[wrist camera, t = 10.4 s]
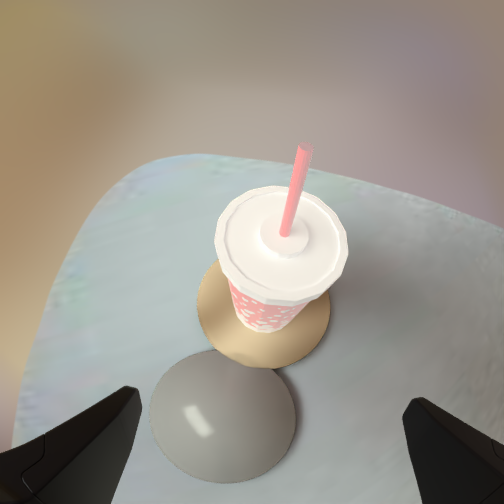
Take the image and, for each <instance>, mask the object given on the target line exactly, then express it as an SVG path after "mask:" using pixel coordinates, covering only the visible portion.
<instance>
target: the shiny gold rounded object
mask: <svg viewBox="0 0 504 504" xmlns="http://www.w3.org/2000/svg"><path fill="white" fill-rule="evenodd" d="M197 310H198V317H199V321H200V324H201V327H202V329H203V331H204V333H205V335H206V337H207V338H208V340H209V341H210V343H211V344H212V345H213V346H214V348H215V349H216V350H218V351H219V352H220V353H222V354H224V356H226V357H228V358H230V359H231V360H233V361H234V360H236V363H237V361H238V363H239V364H241V363H242V365H244V366H248V367H253V368H255V367H257V368H263V369H265V368H271V369H276V368H281V367H285V366H287V365H290V364H292V363H294V362H296V361H298V360H300V359H302V358H303V357H304V356H306V355H307V354H308V353H310V352H311V351H312V350H313V349H314V348H315V347H316V345H317V344H318V343H319V341H320V340H321V338H322V337H323V335H324V333H325V331H326V328H327V325H328V321H329V317H330V298H329V293H328V290H326V291H325V292H324V293H323V294H322V295H320V296H319V297H318V298H317V299H314V300H311V301H310V302H309V303H308V304H307V305H306V306H305V307H304V308H303V309H302V310H301V311H300V312H299V313H298V314H297V315H296V316H295V317H294V318H293V319H292V320H291V321H290V322H289V323H288V324H287V325H286V326H284V327H283V328H282V329H280V330H277V331H274V332H271V333H265V332H256V331H254V330H252V329H250V328H248V327H246V326H245V325H244V324H243V323H242V322H241V320H240V319H239V318H238V317H237V314H236V311H235V307H234V304H233V299H232V295H231V291H230V286H229V282H228V278H227V277H226V276H225V274H224V273H223V272H222V268H221V265H220V262H219V259H218V260H216V261H215V262H214V263H213V264H212V266H211V267H210V268H209V269H208V271H207V272H206V274H205V276H204V278H203V280H202V282H201V284H200V288H199V291H198V298H197ZM250 356H251V357H250ZM235 358H236V359H235ZM252 363H253V364H252Z"/></svg>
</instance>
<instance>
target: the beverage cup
mask: <svg viewBox="0 0 504 504" xmlns="http://www.w3.org/2000/svg"><path fill="white" fill-rule="evenodd" d="M313 149H314V147H313V145H311V144H310V143H308V142H301V143H299V146H298V150H297V155H296V160H295V164H294V169H293V173H292V178H291V182H290V187H282V186H267V187H262V188H257V189H252V190H249V191H248V192H246V193H244V194H242V195H241V196H239V197H237V198H236V199H234V200H232V201H231V202H230V204H229V205H228V206H227V208H226V209H225V210H224V212H223V213H222V214H221V216H220V217H219V218H218V223H217V228H216V234H215V239H214V243H215V247H216V251H217V255H218V258H219V262H220V265H221V268H222V272H223V273H224V274H225V276H226V277H227V278H228V282H229V286H230V291H231V295H232V299H233V304H234V307H235V311H236V314H237V317H238V318H239V319H240V320H241V322H242V323H243V324H244V325H245V326H246V327H248V328H250V329H252V330H254V331H256V332H265V333H271V332H274V331H277V330H280V329H282V328H283V327H284V326H286V325H287V324H288V323H289V322H290V321H291V320H292V319H293V318H294V317H295V316H296V315H297V314H298V313H299V312H300V311H301V310H302V309H303V308H304V307H305V306H306V305H307V304H308V303H309V302H310V301H311V300H314V299H317V298H318V297H319V296H320V295H322V294H323V293H324V292H325V291H326V290H327V289H328V288H329V287H330V286H331V285H332V284H333V283H334V282H335V281H336V280H337V279H338V278H339V277H340V276H341V273H342V271H343V268H344V265H345V262H346V259H347V257H348V245H347V237H346V231H345V229H344V228H343V226H342V224H341V222H340V220H339V219H338V217H337V215H336V213H335V212H334V211H333V210H332V209H330V208H329V207H328V206H327V205H326V204H325V203H324V202H322V201H321V200H320V199H319V198H318V197H316V196H313V195H311V194H309V193H306V192H304V191H302V190H303V186H304V183H305V179H306V175H307V172H308V168H309V164H310V161H311V157H312V153H313Z"/></svg>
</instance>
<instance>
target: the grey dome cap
mask: <svg viewBox="0 0 504 504" xmlns="http://www.w3.org/2000/svg"><path fill="white" fill-rule="evenodd" d="M250 357H251V356H250ZM235 359H236V358H235ZM252 364H253V363H252ZM149 418H150V426H151V431H152V434H153V436H154V439H155V441H156V443H157V445H158V447H159V448H160V450H161V451H162V453H163V454H164V455H165V456H166V458H167V459H168V460H169V461H170V462H171V463H172V464H174V465H175V466H176V467H177V468H179V469H180V470H182V471H183V472H185V473H186V474H188V475H190V476H192V477H195V478H198V479H200V480H204V481H208V482H213V483H237V482H243V481H246V480H250V479H253V478H255V477H257V476H260V475H261V474H263V473H265V472H267V471H268V470H269V469H271V468H272V467H273V466H275V465H276V464H277V463H278V462H279V460H280V459H281V458H282V457H283V456H284V454H285V453H286V451H287V450H288V448H289V446H290V444H291V441H292V439H293V436H294V431H295V424H296V415H295V407H294V403H293V400H292V397H291V395H290V392H289V390H288V389H287V387H286V385H285V384H284V382H283V381H282V380H281V378H280V377H279V376H278V375H277V374H276V373H275V372H274V371H273V370H272V369H271V368H265V369H263V368H257V367H255V368H253V367H248V366H244V365H242V363H241V364H239V363H238V361H237V363H236V360H234V361H233V360H231V359H230V358H228V357H226V356H224V354H222V353H220V352H219V351H218V350H214V351H206V352H201V353H197V354H194V355H192V356H189V357H187V358H185V359H183V360H181V361H179V362H178V363H176V364H175V365H174V366H172V367H171V368H170V369H169V370H168V371H167V372H166V373H165V374H164V375H163V377H162V378H161V379H160V381H159V382H158V384H157V386H156V388H155V390H154V392H153V395H152V398H151V402H150V410H149Z"/></svg>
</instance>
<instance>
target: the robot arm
mask: <svg viewBox="0 0 504 504" xmlns="http://www.w3.org/2000/svg"><path fill="white" fill-rule="evenodd" d="M141 412H142V403H141V399H140V394H139V391H138V389H137V388H134V387H130V386H124V387H122V388H120V389H119V390H117V391H116V392H114V393H112V394H111V395H109V396H108V397H106V398H104V399H103V400H101V401H99V402H98V403H96V404H94V405H93V406H91V407H90V408H88V409H86V410H84V411H83V412H81V413H79V414H78V415H76V416H74V417H73V418H71V419H69V420H67V421H66V422H64V423H62V424H61V425H59V426H57V427H55V428H53V429H52V430H50V431H48V432H46V433H45V434H43V435H41V436H39V437H37V438H35V439H33V440H31V441H29V442H27V443H25V444H23V445H21V446H18V447H16V448H13V449H11V450H8V451H5V452H3V453H0V504H111V502H112V499H113V496H114V494H115V491H116V488H117V486H118V483H119V481H120V478H121V475H122V473H123V470H124V468H125V465H126V463H127V460H128V458H129V455H130V452H131V450H132V446H133V443H134V439H135V435H136V431H137V427H138V423H139V420H140V416H141ZM402 420H403V425H404V430H405V435H406V440H407V446H408V451H409V455H410V459H411V462H412V466H413V469H414V473H415V476H416V480H417V484H418V488H419V492H420V496H421V500H422V504H504V445H503V444H501V443H499V442H497V441H495V440H494V439H491V438H490V437H488V436H487V435H485V434H483V433H481V432H480V431H478V430H476V429H475V428H473V427H471V426H470V425H468V424H466V423H464V422H463V421H461V420H459V419H458V418H456V417H454V416H453V415H451V414H450V413H448V412H446V411H445V410H443V409H441V408H440V407H438V406H436V405H435V404H433V403H432V402H430V401H428V400H427V399H425V398H423V397H419V398H414V399H412V400H411V401H410V403H409V405H408V407H407V408H406V410H405V412H404V414H403V417H402Z"/></svg>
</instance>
